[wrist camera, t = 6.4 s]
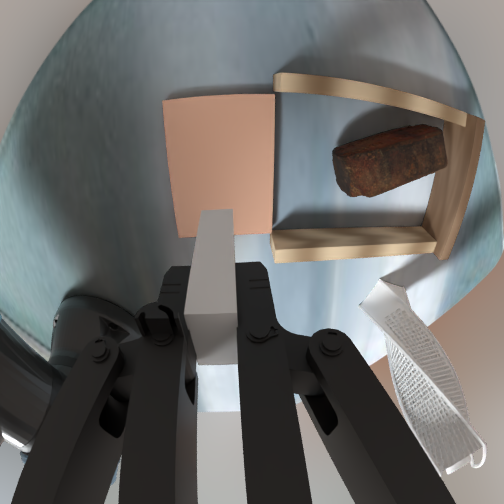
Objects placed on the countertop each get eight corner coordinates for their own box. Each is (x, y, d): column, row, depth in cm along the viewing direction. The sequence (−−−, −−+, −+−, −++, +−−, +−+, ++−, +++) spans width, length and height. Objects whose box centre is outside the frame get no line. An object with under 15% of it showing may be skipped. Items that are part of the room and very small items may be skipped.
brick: (413, 121, 21) (444, 127, 17) (420, 157, 23) (450, 168, 19) (324, 149, 22) (347, 158, 18) (336, 188, 24) (359, 205, 20)
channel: (269, 242, 28) (277, 273, 24) (273, 74, 19) (284, 71, 15) (426, 236, 29) (447, 259, 25) (454, 110, 20) (485, 120, 16)
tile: (180, 232, 27) (178, 237, 26) (165, 100, 19) (162, 100, 18) (270, 228, 27) (271, 233, 26) (272, 94, 20) (274, 94, 19)
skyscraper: (414, 282, 34) (503, 450, 11) (385, 318, 38) (451, 479, 15) (378, 270, 32) (478, 477, 9) (348, 311, 35) (415, 503, 12)
